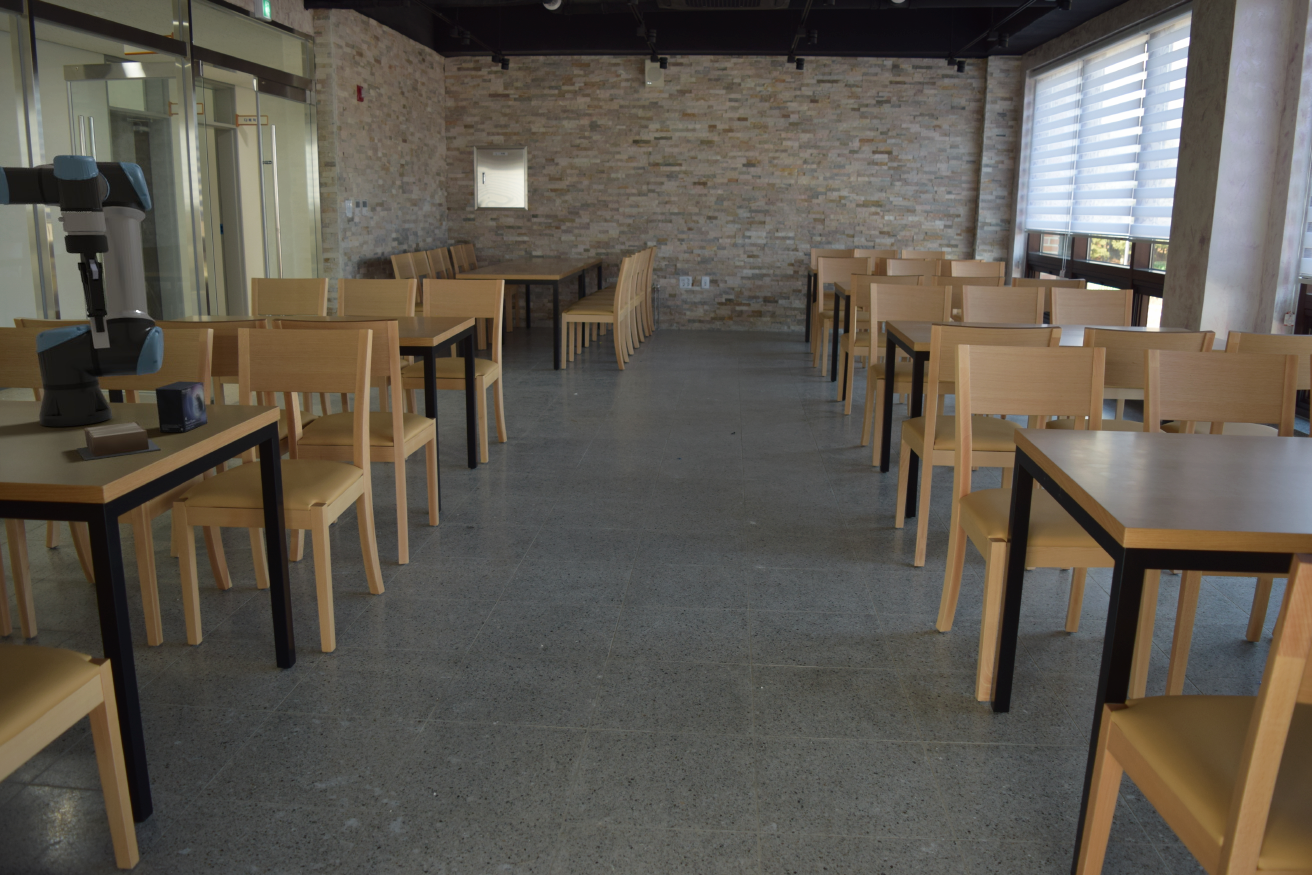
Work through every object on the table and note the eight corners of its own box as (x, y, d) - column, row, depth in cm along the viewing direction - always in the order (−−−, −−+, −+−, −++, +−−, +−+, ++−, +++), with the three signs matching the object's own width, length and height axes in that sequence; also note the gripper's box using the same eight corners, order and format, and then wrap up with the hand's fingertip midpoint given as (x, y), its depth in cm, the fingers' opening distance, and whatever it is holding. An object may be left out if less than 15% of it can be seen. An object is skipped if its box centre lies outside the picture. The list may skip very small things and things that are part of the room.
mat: (76, 449, 195) (76, 448, 195) (149, 440, 204) (149, 438, 204) (84, 460, 186) (84, 459, 186) (160, 450, 194) (160, 448, 194)
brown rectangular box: (84, 427, 196) (92, 437, 187) (136, 421, 202) (146, 430, 193) (86, 446, 197) (95, 456, 188) (138, 439, 203) (149, 449, 194)
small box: (186, 433, 211) (181, 388, 208) (158, 433, 211) (153, 388, 208) (209, 423, 221) (204, 380, 219) (183, 423, 221) (177, 380, 219)
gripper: (60, 233, 189) (77, 345, 195) (67, 234, 179) (85, 352, 185) (101, 233, 194) (117, 343, 199) (111, 233, 184) (127, 349, 190)
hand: (102, 347), depth 192 cm, fingers closed
